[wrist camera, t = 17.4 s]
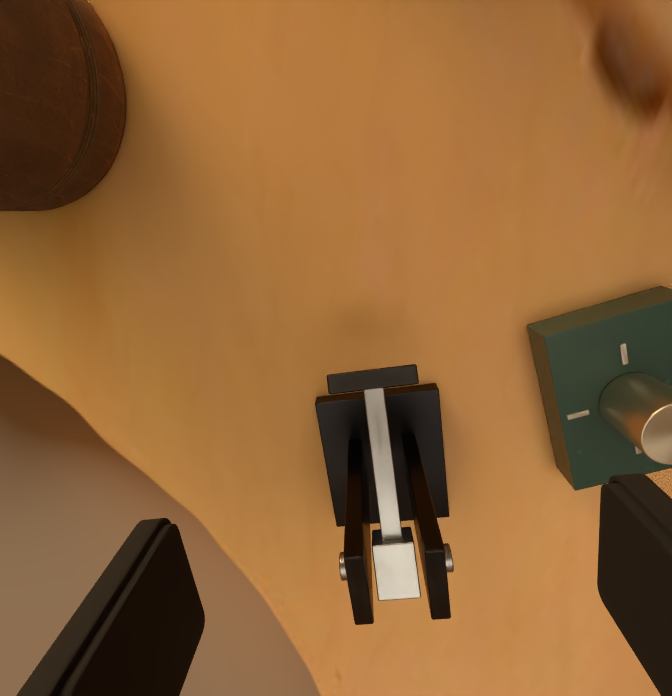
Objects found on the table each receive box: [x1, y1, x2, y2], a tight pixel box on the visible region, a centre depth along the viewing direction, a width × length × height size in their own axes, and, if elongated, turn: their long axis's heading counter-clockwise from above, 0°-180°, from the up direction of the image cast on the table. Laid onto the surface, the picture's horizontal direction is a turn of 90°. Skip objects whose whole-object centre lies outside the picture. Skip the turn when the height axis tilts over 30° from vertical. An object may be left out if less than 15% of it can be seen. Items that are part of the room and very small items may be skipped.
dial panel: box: [527, 286, 672, 490], centre depth 30 cm, size 12×9×3 cm
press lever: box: [327, 364, 421, 601], centre depth 24 cm, size 12×5×2 cm, turn 8°
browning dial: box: [599, 373, 672, 465], centre depth 26 cm, size 4×4×5 cm
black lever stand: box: [315, 383, 454, 625], centre depth 28 cm, size 11×9×13 cm
